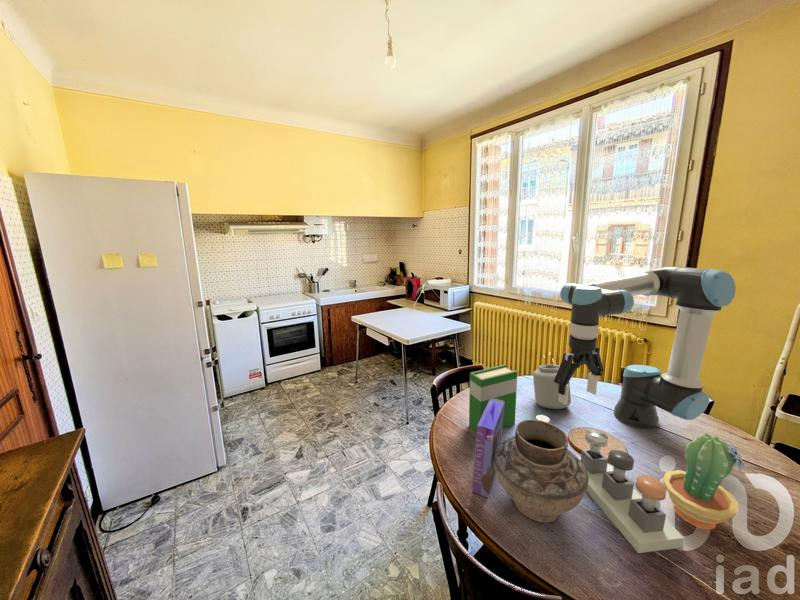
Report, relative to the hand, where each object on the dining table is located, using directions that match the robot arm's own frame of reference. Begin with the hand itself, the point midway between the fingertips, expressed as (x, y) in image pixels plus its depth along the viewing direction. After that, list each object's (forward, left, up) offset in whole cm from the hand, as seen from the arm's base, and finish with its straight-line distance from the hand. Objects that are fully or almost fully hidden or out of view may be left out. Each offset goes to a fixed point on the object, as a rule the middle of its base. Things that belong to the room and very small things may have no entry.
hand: (577, 397), depth 102 cm
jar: (-14, -38, -26) cm, 48 cm away
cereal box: (+30, +1, -26) cm, 40 cm away
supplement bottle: (+6, -9, -26) cm, 28 cm away
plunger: (-4, +5, -18) cm, 19 cm away
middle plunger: (-4, +15, -18) cm, 24 cm away
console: (-4, +15, -26) cm, 30 cm away
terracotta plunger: (-4, +25, -18) cm, 31 cm away
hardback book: (+18, -26, -26) cm, 41 cm away
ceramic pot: (+20, +13, -26) cm, 35 cm away
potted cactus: (-22, +22, -26) cm, 41 cm away
